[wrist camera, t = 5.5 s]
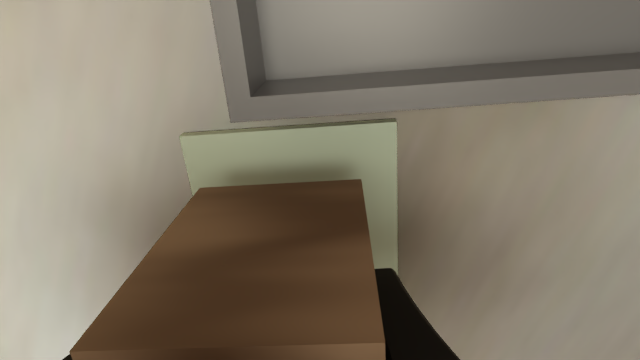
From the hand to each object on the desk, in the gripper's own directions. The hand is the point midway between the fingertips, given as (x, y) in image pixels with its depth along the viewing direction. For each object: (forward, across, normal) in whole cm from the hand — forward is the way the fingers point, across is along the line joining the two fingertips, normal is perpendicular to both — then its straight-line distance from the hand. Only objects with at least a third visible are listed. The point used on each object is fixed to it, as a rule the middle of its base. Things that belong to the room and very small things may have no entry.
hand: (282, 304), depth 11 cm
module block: (+2, 0, 0) cm, 2 cm away
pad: (+5, 0, 0) cm, 5 cm away
